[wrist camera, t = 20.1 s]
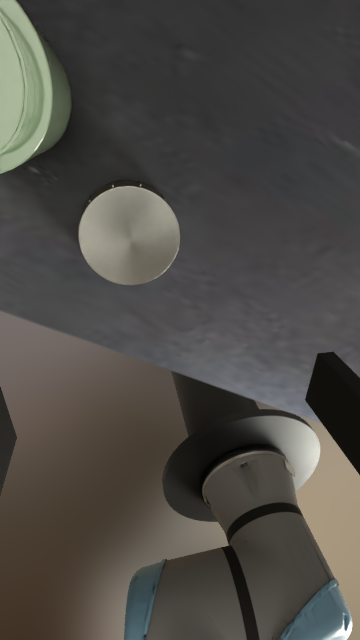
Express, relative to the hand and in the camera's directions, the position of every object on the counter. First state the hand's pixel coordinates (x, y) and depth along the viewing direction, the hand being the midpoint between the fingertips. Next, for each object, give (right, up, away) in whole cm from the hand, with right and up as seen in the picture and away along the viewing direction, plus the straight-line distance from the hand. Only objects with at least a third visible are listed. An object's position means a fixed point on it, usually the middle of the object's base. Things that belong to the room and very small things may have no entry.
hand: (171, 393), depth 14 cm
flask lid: (-4, +10, +15) cm, 18 cm away
